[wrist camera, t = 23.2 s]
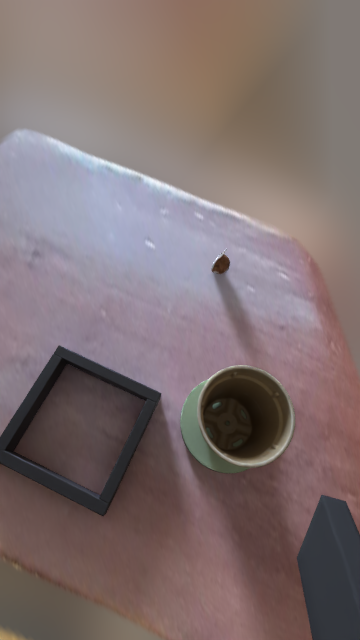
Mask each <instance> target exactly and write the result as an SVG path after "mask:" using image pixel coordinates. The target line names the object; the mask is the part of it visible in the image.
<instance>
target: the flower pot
mask: <svg viewBox="0 0 360 640" xmlns="http://www.w3.org/2000/svg"><path fill="white" fill-rule="evenodd" d="M218 402H221V404H222V405H221V406H219V407H217V408H215V409H213V407H212V406H213V404H216V403H218ZM241 410H243V412H244V413H245V415H246V419H245V418H244V416H243V415H242V413H241ZM197 418H198V424H199V428H200V431H201V433H202V436H203V438H204V439H205V441H206V443H207V444H208V446H209V447H210V448H211V449H212V450H213V451H214V452H215V453H216V454H217V455H218V456H219V457H220V458H222V459H223V460H225V461H227V462H229V463H231V464H233V465H236V466H240V467H247V468H255V467H261V466H264V465H267V464H269V463H271V462H273V461H274V460H276V459H277V458H279V457H280V456H281V455H282V454H283V453H284V451H285V450H286V449H287V447H288V446H289V444H290V442H291V439H292V437H293V433H294V428H295V413H294V408H293V404H292V402H291V399H290V397H289V395H288V393H287V392H286V390H285V388H284V387H283V386H282V385H281V384H280V383H279V382H278V381H277V380H276V379H275V378H274V377H273V376H272V375H270V374H269V373H267V372H265V371H263V370H261V369H259V368H256V367H252V366H246V365H237V366H231V367H228V368H225V369H223V370H221V371H219V372H217V373H216V374H214V375H213V376H212V377H211V378H210V379H209V380H208V381H207V383H206V384H205V386H204V387H203V389H202V391H201V394H200V396H199V400H198V406H197ZM227 421H228V422H229V425H226V422H227ZM206 428H209V429H210V432H211V434H212V436H213V438H211V437H210V436H209V435H208V433H207V431H206ZM240 439H242V440H243V442H242V443H241V444H240V445H238V446H233V444H234V443H236V442H237V441H239V440H240Z"/></svg>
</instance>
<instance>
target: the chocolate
mask: <svg viewBox="0 0 360 640" xmlns="http://www.w3.org/2000/svg"><path fill="white" fill-rule="evenodd" d="M226 250H227V249H226ZM226 250H225V251H226ZM225 251H224V252H223V253H221V254H220V255H219V256H218V258H217V259H216V260H215V262H214V264H213V265H212V268H211V270H212V272H214V273H217V274H222V273H224V272H225V271H227V270H228V269H229V265H230V261H229V258H228V257H227V256H226V255H224V253H225ZM225 273H226V272H225Z"/></svg>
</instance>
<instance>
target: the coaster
mask: <svg viewBox="0 0 360 640" xmlns="http://www.w3.org/2000/svg"><path fill="white" fill-rule="evenodd" d="M208 380H209V379H208ZM208 380H206V381H204V382H202V383H201V384H199V385H198V386H197V387H195V388H194V389H193V390H192V392H191V393H190V394H189V396H188V397H187V399H186V401H185V403H184V405H183V408H182V412H181V433H182V437H183V440H184V442H185V445H186V446H187V448H188V450H189V451H190V453H191V454H192V456H193V457H194V458H195V459H196V460H197V461H198V462H200V463H201V464H202V465H204V466H205V467H207V468H209V469H211V470H213V471H217V472H221V473H238V472H242V471H245V470H247V469H249V468H247V467H240V466H236V465H233V464H231V463H229V462H227V461H225V460H223V459H222V458H220V457H219V456H218V455H217V454H216V453H215V452H214V451H213V450H212V449H211V448H210V447H209V446H208V444H207V443H206V441H205V439H204V438H203V436H202V433H201V431H200V428H199V424H198V418H197V406H198V400H199V396H200V394H201V391H202V389H203V387H204V386H205V384H206V383H207V381H208ZM221 405H222V404H221V402H218V403H216V404H213V406H212V407H213V409H215V408H217V407H219V406H221ZM241 413H242V415H243V416H244V418H245V419H246V415H245V413H244V412H243V410H241ZM226 425H229V422H228V421H227V422H226ZM206 431H207V433H208V435H209V436H210V437H211V438H213V436H212V434H211V432H210V429H209V428H206ZM242 442H243V440H242V439H240V440H239V441H237V442H236V443H234V444H233V446H238V445H240V444H241V443H242Z"/></svg>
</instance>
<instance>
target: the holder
mask: <svg viewBox="0 0 360 640" xmlns="http://www.w3.org/2000/svg"><path fill="white" fill-rule="evenodd" d="M66 364H69V365H71V366H73V367H75V368H77V369H79V370H81V371H84V372H86V373H88V374H90V375H92V376H94V377H96V378H98V379H100V380H102V381H105V382H107V383H109V384H111V385H113V386H115V387H117V388H119V389H121V390H123V391H126V392H128V393H130V394H132V395H134V396H136V397H138V398H140V399H142V400H144V401H146V402H145V404H144V407H143V409H142V411H141V413H140V415H139V417H138V419H137V421H136V423H135V425H134V427H133V429H132V431H131V433H130V435H129V437H128V440H127V442H126V444H125V446H124V448H123V450H122V452H121V454H120V456H119V458H118V460H117V462H116V464H115V466H114V468H113V470H112V473H111V475H110V477H109V479H108V481H107V483H106V485H105V487H104V489H103V491H102V493H101V495H98V494H96V493H95V492H93V491H91V490H89V489H87V488H85V487H83V486H81V485H79V484H77V483H75V482H73V481H71V480H69V479H67V478H65V477H63V476H61V475H59V474H57V473H55V472H53V471H51V470H49V469H47V468H45V467H44V466H42V465H40V464H38V463H36V462H34V461H32V460H30V459H28V458H26V457H24V456H22V455H20V454H18V453H16V452H14V449H15V447H16V446H17V444H18V443H19V441H20V439H21V438H22V436H23V434H24V433H25V431H26V430H27V428H28V426H29V425H30V423H31V421H32V420H33V418H34V417H35V415H36V413H37V412H38V410H39V408H40V407H41V405H42V404H43V402H44V400H45V399H46V397H47V395H48V394H49V392H50V391H51V389H52V387H53V386H54V384H55V382H56V381H57V379H58V377H59V376H60V374H61V373H62V371H63V369H64V368H65V366H66ZM160 397H161V393H159V392H157V391H155V390H153V389H151V388H149V387H147V386H145V385H142V384H140V383H138V382H136V381H134V380H132V379H130V378H128V377H125V376H123V375H121V374H119V373H117V372H115V371H113V370H111V369H108V368H106V367H104V366H102V365H100V364H98V363H96V362H94V361H92V360H89V359H87V358H85V357H83V356H81V355H79V354H77V353H75V352H72V351H70V350H68V349H66V348H64V347H62V346H60V345H59V346H58V348H57V349H56V351H55V352H54V354H53V355H52V357H51V358H50V360H49V362H48V363H47V365H46V366H45V368H44V369H43V371H42V373H41V374H40V376H39V377H38V379H37V380H36V382H35V383H34V385H33V387H32V388H31V390H30V391H29V393H28V394H27V396H26V398H25V399H24V401H23V402H22V404H21V405H20V407H19V408H18V410H17V412H16V413H15V415H14V416H13V418H12V419H11V421H10V423H9V424H8V426H7V427H6V429H5V430H4V432H3V433H2V435H1V437H0V463H1V464H3V465H5V466H6V467H8V468H10V469H12V470H14V471H16V472H18V473H20V474H22V475H24V476H26V477H28V478H30V479H32V480H34V481H36V482H38V483H39V484H41V485H43V486H45V487H47V488H49V489H51V490H53V491H55V492H57V493H59V494H61V495H63V496H65V497H67V498H69V499H71V500H72V501H74V502H76V503H78V504H80V505H82V506H84V507H86V508H88V509H90V510H92V511H94V512H96V513H98V514H100V515H102V516H104V515H105V514H106V513H107V511H108V508H109V506H110V504H111V502H112V500H113V498H114V496H115V493H116V491H117V489H118V487H119V485H120V483H121V481H122V479H123V476H124V474H125V472H126V470H127V468H128V466H129V464H130V461H131V459H132V457H133V455H134V453H135V451H136V449H137V447H138V444H139V442H140V440H141V438H142V436H143V434H144V432H145V429H146V427H147V425H148V423H149V421H150V419H151V417H152V415H153V412H154V410H155V408H156V406H157V404H158V402H159V400H160Z"/></svg>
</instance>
